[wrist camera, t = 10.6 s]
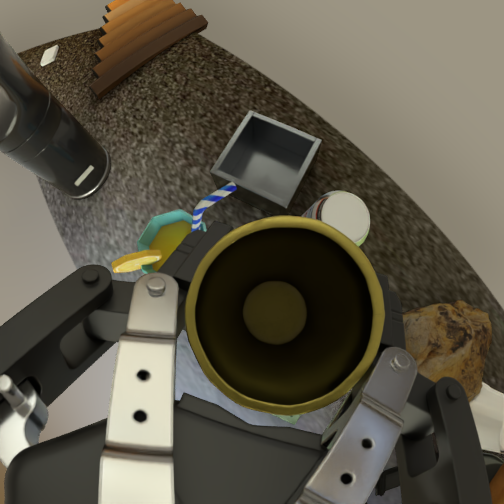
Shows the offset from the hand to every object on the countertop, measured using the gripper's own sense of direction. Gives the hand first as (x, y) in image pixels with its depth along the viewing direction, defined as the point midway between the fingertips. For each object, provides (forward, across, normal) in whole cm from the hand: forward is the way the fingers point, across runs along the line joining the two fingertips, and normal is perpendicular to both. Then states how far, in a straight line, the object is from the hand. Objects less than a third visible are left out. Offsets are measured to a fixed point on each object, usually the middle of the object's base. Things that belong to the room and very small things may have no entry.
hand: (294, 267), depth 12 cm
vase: (+6, 0, +9) cm, 11 cm away
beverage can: (+26, -3, +14) cm, 29 cm away
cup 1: (+21, +10, +19) cm, 30 cm away
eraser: (+44, +60, -2) cm, 75 cm away
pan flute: (+37, +49, -1) cm, 62 cm away
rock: (+9, -23, +23) cm, 34 cm away
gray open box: (+30, +6, +9) cm, 32 cm away
